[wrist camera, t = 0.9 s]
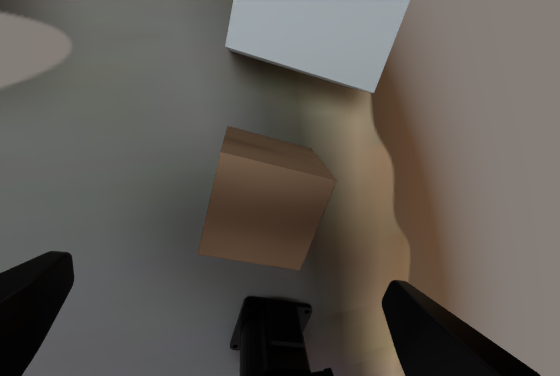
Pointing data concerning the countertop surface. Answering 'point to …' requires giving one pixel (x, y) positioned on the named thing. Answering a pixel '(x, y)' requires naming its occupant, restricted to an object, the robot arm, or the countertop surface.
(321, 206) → the walnut cube
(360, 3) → the riser block
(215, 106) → the countertop surface
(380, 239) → the countertop surface
